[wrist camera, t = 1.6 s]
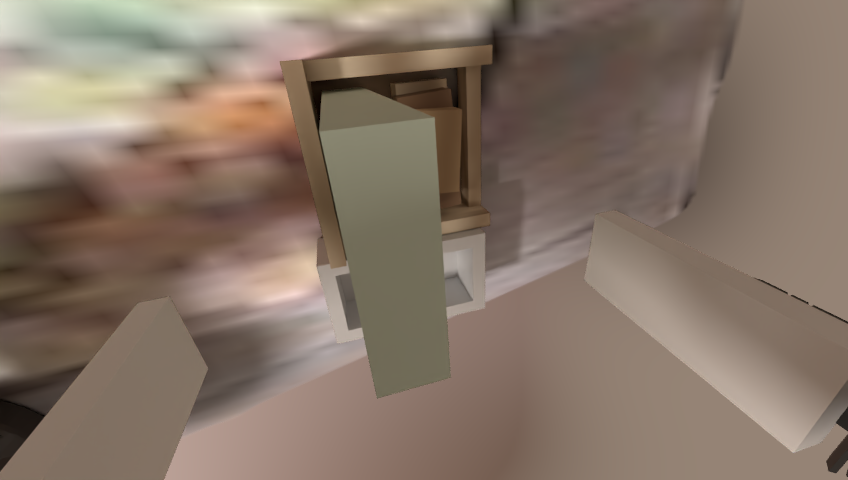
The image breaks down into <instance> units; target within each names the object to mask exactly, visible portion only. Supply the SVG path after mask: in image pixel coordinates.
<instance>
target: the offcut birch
mask: <svg viewBox="0 0 848 480" xmlns="http://www.w3.org/2000/svg"><path fill="white" fill-rule="evenodd" d="M441 87H444V88H447V79H446V78H432V79H423V80H414V81H405V82H397V83H390V89H391V97H392V96H396V95H402V94H408V93H413V92H419V91H425V90H430V89H436V88H441Z"/></svg>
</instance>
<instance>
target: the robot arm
mask: <svg viewBox="0 0 848 480" xmlns="http://www.w3.org/2000/svg"><path fill="white" fill-rule="evenodd" d="M584 281H585V282H586V283H588V284H589V285H590V286H591V287H593V288H594V289H595V290H596V291H597V292H599V293H600V294H601V295H602V296H603V297H605V298H606V299H607V300H608V301H609V302H611V303H612V304H613V305H614V306H616V307H617V308H618V309H619V310H620V311H622V312H623V313H624V314H625V315H627V316H628V317H629V318H630V319H631V320H633V321H634V322H635V323H636V324H637V325H639V326H640V327H641V328H642V329H643V330H645V331H646V332H647V333H648V334H650V335H651V336H652V337H653V338H654V339H656V340H657V341H658V342H659V343H661V344H662V345H663V346H664V347H666V348H667V349H668V350H669V351H670V352H671V353H673V354H674V355H675V356H676V357H677V358H679V359H680V360H681V361H682V362H684V363H685V364H686V365H687V366H688V367H690V368H691V369H692V370H693V371H695V372H696V373H697V374H698V375H699V376H701V377H702V378H703V379H704V380H706V381H707V382H708V383H709V384H710V385H711V386H713V387H714V388H715V389H716V390H718V391H719V392H720V393H721V394H722V395H724V396H725V397H726V398H727V399H729V400H730V401H731V402H732V403H733V404H735V405H736V406H737V407H738V408H739V409H741V410H742V411H743V412H744V413H746V414H747V415H748V416H749V417H750V418H752V419H753V420H754V421H755V422H757V423H758V424H759V425H760V426H761V427H762V428H764V429H765V430H766V431H767V432H769V433H770V434H771V435H772V436H773V437H775V438H776V439H777V440H778V441H780V442H781V443H782V444H783V445H784V446H785V447H787V448H788V449H789V450H790V451H792V452H793V453H795V452H798V451H800V450H803V449H805V448H808V447H810V446H813V445H815V444H818V443H821V442H822V440H823V439H824V438H825V437H826V435H827V434H828V433H829V432H830V430H831V429H832V428H833V427H834V425H835V424H836V423H837V424H838V425H839V426H841V427H842V428H844V429H845V430H847V431H848V322H847V321H845V320H843V319H841V318H839V317H837V316H834V315H833V314H831V313H829V312H827V311H824V310H823V309H820V308H818V307H816V306H810V305H809V304H808V302H806V301H804V300H802V299H800V298H798V297H796V296H794V295H791V296H790V295H788V294H787V292H785V291H783V290H781V289H779V288H777V287H775V286H773V285H771V284H769V283H767V282H765V281H763V280H760V279H756V278H753V277H751V276H749V275H747V274H745V273H743V272H740V271H739V270H737V269H735V268H733V267H731V266H728V265H726V264H724V263H722V262H720V261H718V260H716V259H714V258H712V257H710V256H708V255H706V254H704V253H702V252H700V251H698V250H696V249H694V248H691V247H690V246H688V245H685V244H684V243H682V242H679V241H677V240H675V239H673V238H671V237H669V236H667V235H665V234H663V233H661V232H659V231H657V230H655V229H653V228H651V227H649V226H647V225H645V224H643V223H641V222H639V221H637V220H635V219H632V218H630V217H628V216H626V215H624V214H622V213H620V212H618V211H616V210H613V211H608V212H602V213H597V214H596V215H595V221H594V227H593V232H592V238H591V244H590V250H589V256H588V262H587V267H586V273H585V279H584ZM207 371H208V367H207V365H206V363H205V361H204V360H203V358H202V356H201V354H200V352H199V350H198V348H197V346H196V345H195V343H194V341H193V339H192V337H191V335H190V333H189V332H188V330H187V328H186V326H185V324H184V322H183V320H182V318H181V317H180V315H179V313H178V311H177V309H176V307H175V305H174V304H173V302H172V300H171V298H170V297H164V298H159V299H154V300H149V301H144V302H139V303H137V304H136V305H135V307H134V308H133V309H132V310H131V312H130V313H129V314H128V315H127V317H126V318H125V319H124V320H123V321H122V323H121V324H120V325H119V326H118V328H117V329H116V330H115V331H114V333H113V334H112V335H111V336H110V337H109V339H108V340H107V341H106V342H105V344H104V345H103V346H102V347H101V349H100V350H99V351H98V352H97V353H96V355H95V356H94V357H93V358H92V360H91V361H90V362H89V363H88V364H87V366H86V367H85V368H84V369H83V371H82V372H81V373H80V374H79V376H78V377H77V378H76V379H75V380H74V382H73V383H72V384H71V385H70V387H69V388H68V389H67V390H66V392H65V393H64V394H63V395H62V396H61V398H60V399H59V400H58V401H57V403H56V404H55V405H54V406H53V407H52V409H51V410H50V411H49V412H48V414H47V415H46V416H45V417H43V416H41V415H39V414H37V413H35V412H33V411H31V410H29V409H26V408H23V407H21V406H18V405H15V404H11V403H8V402H4V401H0V480H164V479H165V476H166V473H167V471H168V468H169V466H170V463H171V461H172V458H173V456H174V453H175V451H176V448H177V446H178V443H179V441H180V438H181V436H182V433H183V431H184V428H185V426H186V423H187V421H188V418H189V416H190V413H191V411H192V408H193V406H194V403H195V401H196V398H197V396H198V393H199V391H200V388H201V386H202V383H203V381H204V378H205V376H206V373H207ZM847 460H848V435H847V436H846V437H845V439H843V441H842V442H841V443H840V444H839V445H838V447H837V448H836V449H835V450H834V451H833V453H832V454H831V455H830V457H829V458H828V460H827V461H826V462H827V466H828V470H829V471H830V472H833V473H837V472H838V471H839V469H840V468H841V467H842V466H843V465H844V464H845V462H846V461H847ZM846 475H847V477H848V470H847V474H846Z"/></svg>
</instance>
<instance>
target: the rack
mask: <svg viewBox="0 0 848 480" xmlns="http://www.w3.org/2000/svg"><path fill="white" fill-rule="evenodd" d="M487 64H492V45H483V46H471V47H459V48H447V49H435V50H423V51H411V52H399V53H387V54H375V55H363V56H351V57H339V58H328V59H316V60H304V61H303V60H291V61H280V65H281V69H282V73H283V77H284V81H285V85H286V89H287V93H288V97H289V101H290V105H291V109H292V113H293V117H294V122H295V126H296V130H297V134H298V138H299V142H300V146H301V150H302V154H303V158H304V162H305V166H306V170H307V174H308V178H309V182H310V186H311V190H312V194H313V199H314V203H315V207H316V211H317V215H318V219H319V223H320V227H321V231H322V235H323V239H324V243H325V247H326V251H327V255H328V259H329V263H330V267H331V269H333V268H338V267H343V266H347V263H346V255H345V254H346V253H345V248H344V244H343V239H342V234H341V230H340V225H339V220H338V216H337V211H336V207H335V202H334V197H333V193H332V188H331V184H330V179H329V174H328V170H327V165H326V161H325V156H324V151H323V147H322V142H321V138H320V133H319V127H320V124H319V120H318V115H317V110H316V106H315V101H314V96H313V92H312V87H311V83H310V81H320V80H330V79H340V78H351V77H361V76H372V75H382V74H393V73H403V72H414V71H424V70H435V69H445V68H456V67H457V79H458V108H460V109H462V129H461V156H460V177H461V203H462V204H459V205H455V206H451V207H447V208H443V209H440V213H441V229H442V235H444V234H449V233H454V232H459V231H464V230H469V229H474V228H479V227H485V226H490V212H488V211H487V210H486V209H485V208H484V207H483V206H481V65H487Z"/></svg>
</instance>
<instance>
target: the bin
mask: <svg viewBox="0 0 848 480" xmlns="http://www.w3.org/2000/svg"><path fill="white" fill-rule="evenodd" d="M442 245H443V261H444V277H445V294H446V310H447V317H450V316H454V315H458V314H462V313H466V312H470V311H474V310H478V309H483V308H485V232H484V231H483V230H482V229H481V228H480V227H479V228H474V229H469V230H464V231H459V232H454V233H449V234H444V235H442ZM345 255H346V254H345ZM346 263H347V266H343V267H338V268H333V269H331V267H330V263H329V259H328V255H327V251H326V247H325V243H324V239H323V238H320V239H318V240H317V270H318V274H319V277H320V281H321V285H322V288H323V292H324V296H325V300H326V303H327V307H328V311H329V314H330V318H331V322H332V326H333V329H334V333H335V337H336V340H337V344H340V343H344V342H348V341H352V340H356V339H360V338H364V336H363V331H362V326H361V322H360V317H359V313H358V308H357V303H356V299H355V294H354V290H353V285H352V280H351V276H350V271H349V267H348V262H347V257H346Z"/></svg>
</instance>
